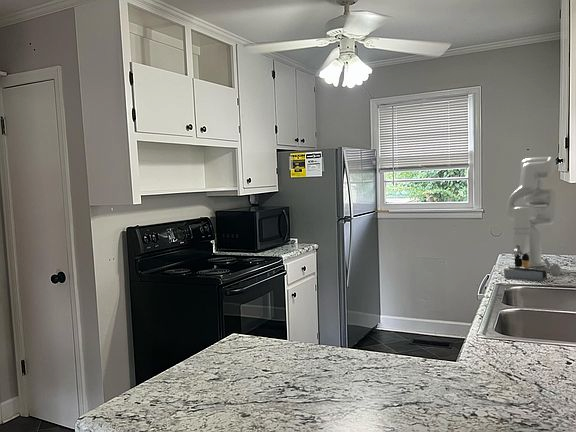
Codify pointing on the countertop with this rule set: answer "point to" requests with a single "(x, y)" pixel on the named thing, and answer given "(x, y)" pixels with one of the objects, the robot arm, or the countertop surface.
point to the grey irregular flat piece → (553, 268)
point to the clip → (524, 264)
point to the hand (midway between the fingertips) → (522, 265)
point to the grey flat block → (525, 273)
